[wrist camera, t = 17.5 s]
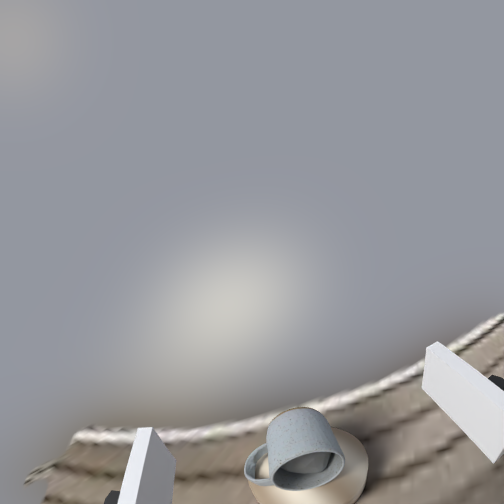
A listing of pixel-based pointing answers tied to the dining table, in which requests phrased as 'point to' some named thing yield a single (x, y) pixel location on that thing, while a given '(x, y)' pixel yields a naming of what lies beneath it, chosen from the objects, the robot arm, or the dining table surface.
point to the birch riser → (330, 494)
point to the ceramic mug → (298, 452)
